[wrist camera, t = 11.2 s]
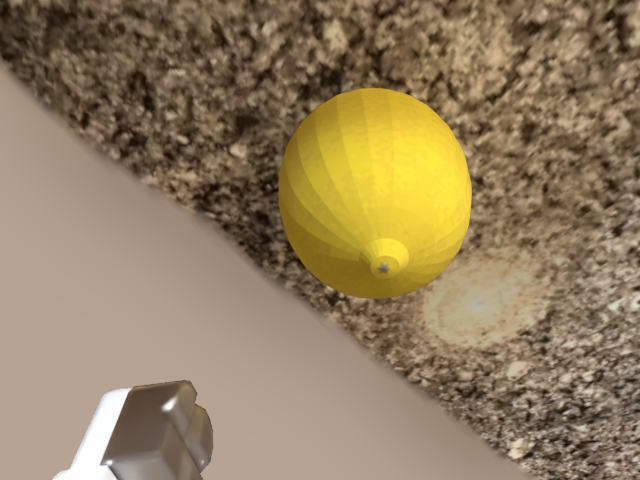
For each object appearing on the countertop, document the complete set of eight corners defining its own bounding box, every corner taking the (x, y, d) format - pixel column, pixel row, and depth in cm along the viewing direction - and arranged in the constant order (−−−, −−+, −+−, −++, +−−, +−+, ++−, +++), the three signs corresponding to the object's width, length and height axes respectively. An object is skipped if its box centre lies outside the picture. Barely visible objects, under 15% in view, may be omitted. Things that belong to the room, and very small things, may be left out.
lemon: (331, 27, 17) (336, 114, 10) (473, 105, 19) (557, 227, 12) (261, 167, 20) (229, 308, 13) (389, 226, 21) (420, 381, 15)
